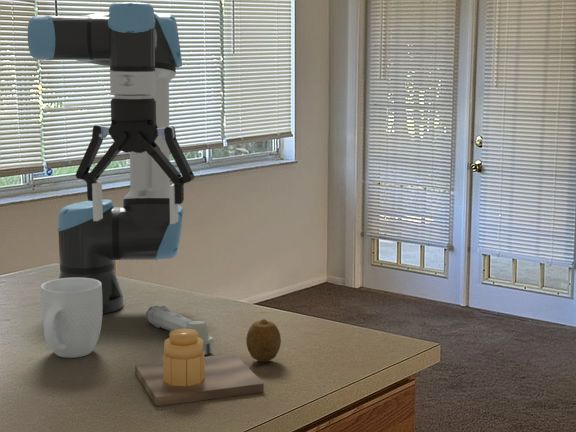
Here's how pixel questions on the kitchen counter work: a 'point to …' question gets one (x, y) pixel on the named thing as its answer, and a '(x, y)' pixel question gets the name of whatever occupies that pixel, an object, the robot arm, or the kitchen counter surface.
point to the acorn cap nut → (183, 358)
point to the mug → (71, 315)
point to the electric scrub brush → (179, 324)
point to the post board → (217, 383)
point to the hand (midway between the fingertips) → (135, 221)
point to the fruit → (263, 340)
